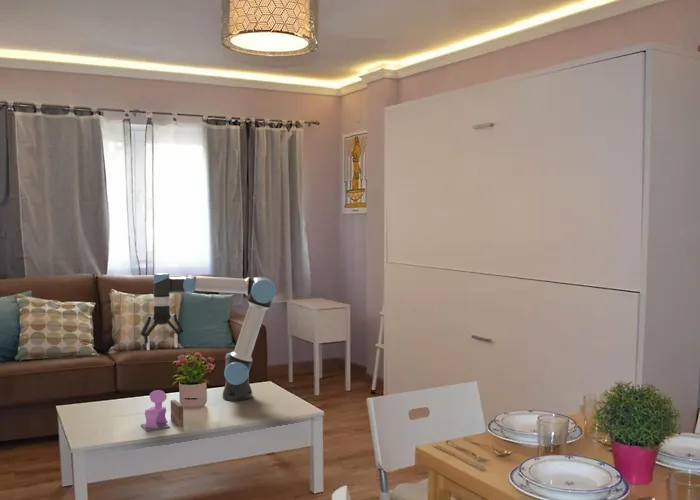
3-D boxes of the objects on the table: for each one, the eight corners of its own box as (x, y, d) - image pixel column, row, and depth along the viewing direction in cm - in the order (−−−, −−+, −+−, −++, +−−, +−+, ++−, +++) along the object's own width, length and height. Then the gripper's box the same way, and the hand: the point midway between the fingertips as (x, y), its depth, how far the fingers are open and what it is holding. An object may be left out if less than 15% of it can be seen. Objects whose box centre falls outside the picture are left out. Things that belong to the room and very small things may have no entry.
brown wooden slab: (175, 419, 303) (174, 399, 303) (183, 425, 293) (183, 405, 293) (170, 419, 302) (170, 400, 302) (178, 426, 292) (178, 406, 292)
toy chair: (142, 427, 289) (141, 393, 288) (153, 421, 297) (152, 388, 296) (159, 428, 287) (159, 394, 286) (169, 423, 295) (169, 389, 294)
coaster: (163, 422, 298) (163, 420, 298) (169, 427, 290) (169, 426, 290) (140, 425, 293) (140, 424, 293) (146, 431, 285) (146, 430, 285)
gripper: (184, 302, 331) (184, 344, 332) (133, 306, 318) (134, 349, 319) (189, 304, 325) (189, 347, 326) (137, 307, 312) (138, 352, 312)
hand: (162, 348), depth 322 cm, fingers open, 13 cm apart
